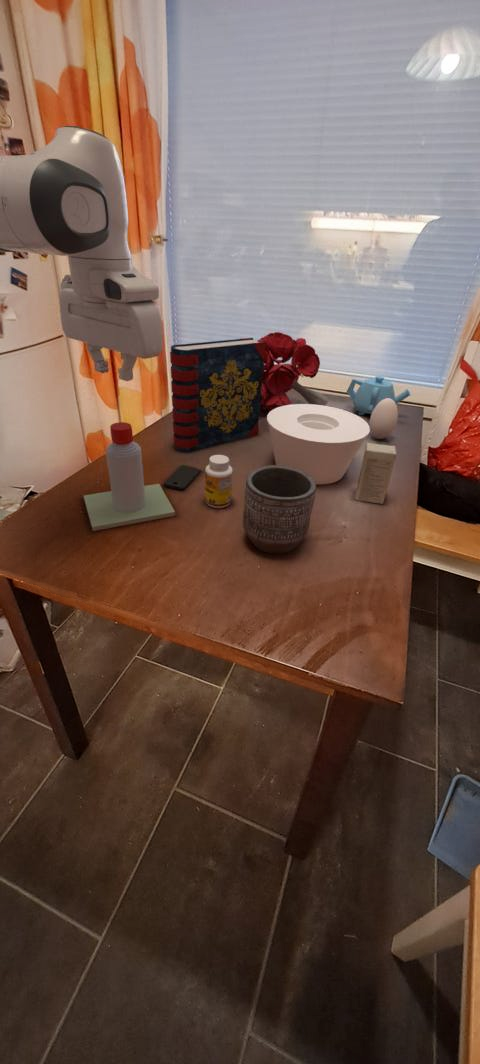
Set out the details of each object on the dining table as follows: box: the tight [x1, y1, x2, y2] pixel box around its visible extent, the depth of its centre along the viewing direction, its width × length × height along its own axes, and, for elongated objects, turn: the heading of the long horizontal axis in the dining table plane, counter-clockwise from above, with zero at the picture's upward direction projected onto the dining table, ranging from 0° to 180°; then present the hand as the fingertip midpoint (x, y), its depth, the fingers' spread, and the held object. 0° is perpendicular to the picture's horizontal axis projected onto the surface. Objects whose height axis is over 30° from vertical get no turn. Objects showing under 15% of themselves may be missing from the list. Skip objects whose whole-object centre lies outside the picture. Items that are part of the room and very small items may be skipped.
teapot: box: [346, 375, 411, 416], centre depth 137 cm, size 20×17×12 cm
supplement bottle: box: [204, 454, 234, 509], centre depth 86 cm, size 6×6×10 cm
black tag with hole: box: [163, 464, 202, 491], centre depth 96 cm, size 5×1×10 cm
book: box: [169, 337, 266, 453], centre depth 108 cm, size 25×7×25 cm, turn 126°
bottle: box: [105, 440, 146, 512], centre depth 80 cm, size 6×6×16 cm
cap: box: [109, 421, 134, 445], centre depth 76 cm, size 4×4×3 cm
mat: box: [83, 483, 176, 532], centre depth 85 cm, size 16×12×1 cm
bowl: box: [266, 403, 371, 485], centre depth 102 cm, size 24×24×12 cm
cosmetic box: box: [354, 442, 397, 505], centre depth 91 cm, size 6×4×12 cm
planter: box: [242, 464, 317, 555], centre depth 76 cm, size 12×12×13 cm
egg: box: [368, 398, 399, 440], centre depth 120 cm, size 7×7×12 cm
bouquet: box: [256, 331, 329, 412], centre depth 133 cm, size 22×24×30 cm
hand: (114, 375), depth 70 cm, fingers open, 5 cm apart
